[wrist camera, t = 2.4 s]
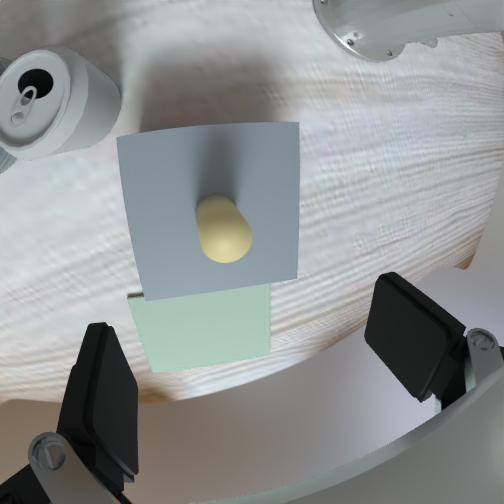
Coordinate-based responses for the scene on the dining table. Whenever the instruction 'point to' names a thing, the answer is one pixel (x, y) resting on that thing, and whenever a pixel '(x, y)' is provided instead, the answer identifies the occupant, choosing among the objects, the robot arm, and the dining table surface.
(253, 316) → the mat
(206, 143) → the lid
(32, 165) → the dining table surface
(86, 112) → the can
